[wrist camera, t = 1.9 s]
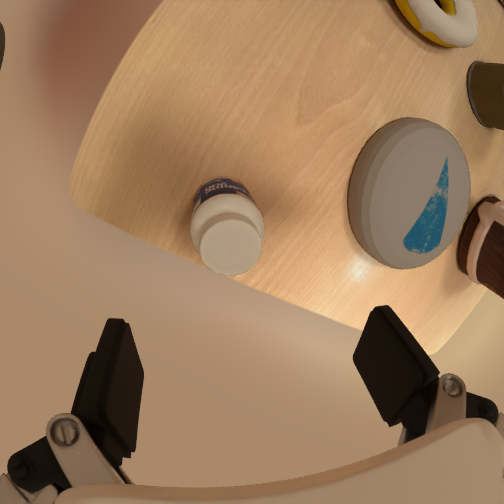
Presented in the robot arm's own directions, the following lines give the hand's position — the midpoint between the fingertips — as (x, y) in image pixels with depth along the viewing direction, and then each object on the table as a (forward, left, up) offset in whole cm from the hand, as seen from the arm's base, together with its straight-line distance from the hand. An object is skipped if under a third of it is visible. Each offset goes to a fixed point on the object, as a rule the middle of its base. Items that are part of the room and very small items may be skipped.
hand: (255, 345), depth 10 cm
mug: (+36, +19, -18) cm, 45 cm away
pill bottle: (0, 0, -18) cm, 18 cm away
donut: (+5, +36, -18) cm, 40 cm away
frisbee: (+18, +13, -18) cm, 29 cm away
